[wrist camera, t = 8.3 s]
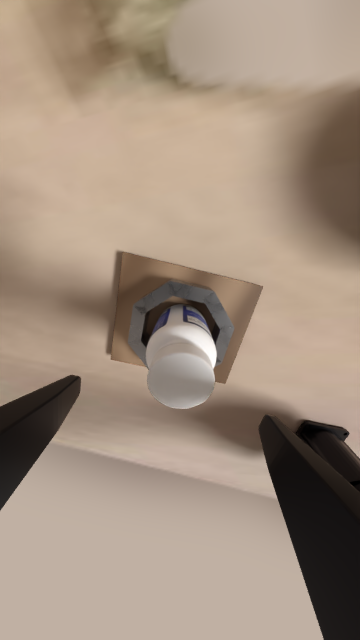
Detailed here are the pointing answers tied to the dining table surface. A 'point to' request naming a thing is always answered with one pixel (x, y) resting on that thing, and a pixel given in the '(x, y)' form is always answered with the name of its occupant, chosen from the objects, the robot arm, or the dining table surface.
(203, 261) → the dining table surface
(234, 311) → the tan board
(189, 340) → the pill bottle
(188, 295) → the ring collar
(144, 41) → the dining table surface
